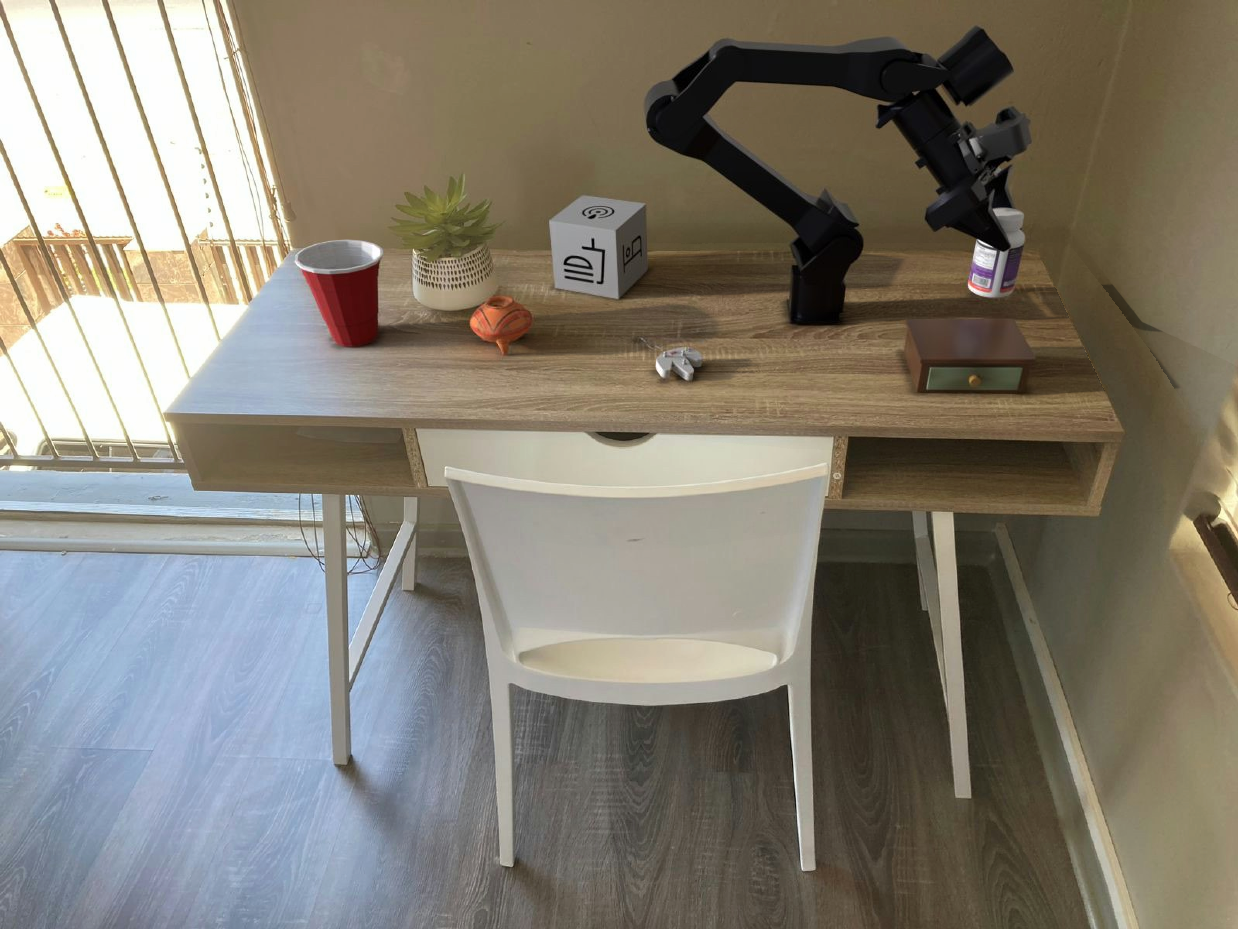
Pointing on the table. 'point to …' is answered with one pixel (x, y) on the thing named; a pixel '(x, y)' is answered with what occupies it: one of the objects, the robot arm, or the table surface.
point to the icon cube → (599, 246)
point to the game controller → (678, 362)
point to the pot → (501, 321)
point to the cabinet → (967, 355)
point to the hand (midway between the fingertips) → (1013, 240)
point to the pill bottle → (998, 259)
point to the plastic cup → (345, 287)
